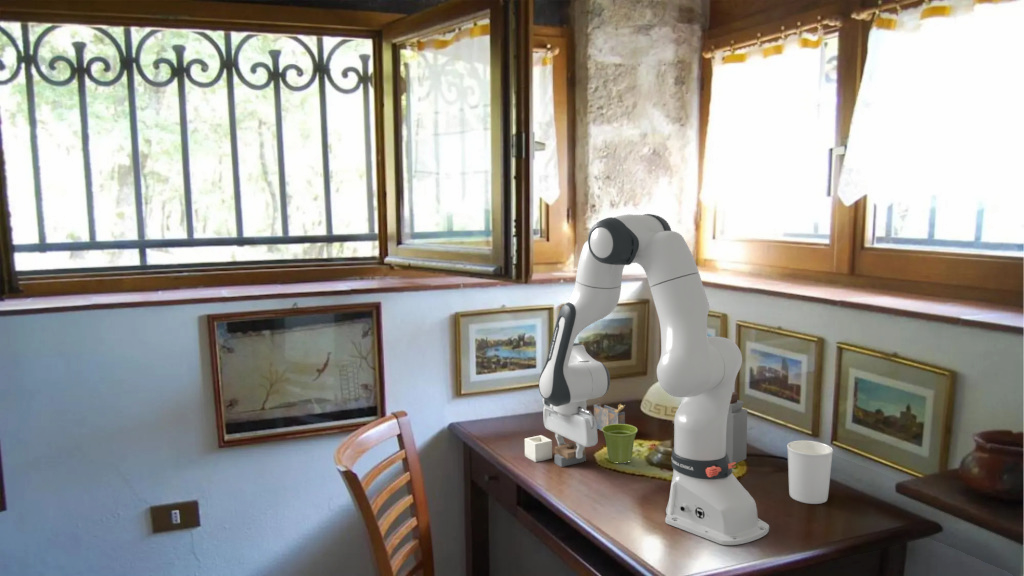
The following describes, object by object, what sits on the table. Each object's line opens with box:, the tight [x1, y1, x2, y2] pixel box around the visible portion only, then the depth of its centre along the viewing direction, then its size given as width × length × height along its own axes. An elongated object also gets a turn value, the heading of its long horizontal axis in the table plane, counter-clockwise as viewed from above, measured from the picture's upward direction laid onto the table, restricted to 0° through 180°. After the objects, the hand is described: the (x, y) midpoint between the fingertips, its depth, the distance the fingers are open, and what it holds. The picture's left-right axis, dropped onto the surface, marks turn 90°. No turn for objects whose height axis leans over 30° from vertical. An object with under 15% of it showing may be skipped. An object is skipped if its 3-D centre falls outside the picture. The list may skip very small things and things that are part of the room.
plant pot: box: [602, 423, 638, 464], centre depth 194 cm, size 9×9×9 cm
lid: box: [554, 442, 587, 459], centre depth 194 cm, size 6×6×3 cm
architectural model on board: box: [593, 403, 626, 432], centre depth 219 cm, size 11×3×10 cm, turn 32°
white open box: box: [524, 434, 553, 463], centre depth 198 cm, size 5×5×5 cm
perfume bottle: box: [726, 391, 748, 464], centre depth 194 cm, size 7×7×18 cm
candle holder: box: [786, 439, 834, 505], centre depth 168 cm, size 10×10×12 cm
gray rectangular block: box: [554, 453, 587, 468], centre depth 194 cm, size 3×8×2 cm, turn 121°
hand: (570, 453), depth 194 cm, fingers closed on lid, 6 cm apart
